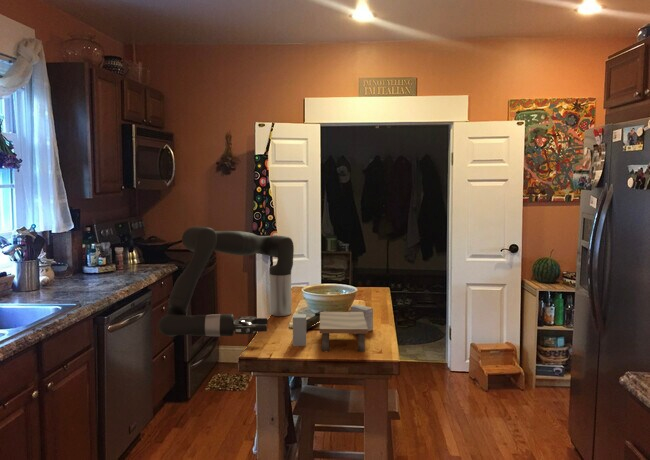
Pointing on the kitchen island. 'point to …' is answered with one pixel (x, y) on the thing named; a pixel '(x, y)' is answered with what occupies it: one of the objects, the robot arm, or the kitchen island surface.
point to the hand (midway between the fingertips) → (267, 324)
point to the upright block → (299, 330)
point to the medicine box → (365, 314)
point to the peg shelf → (343, 326)
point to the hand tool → (313, 320)
